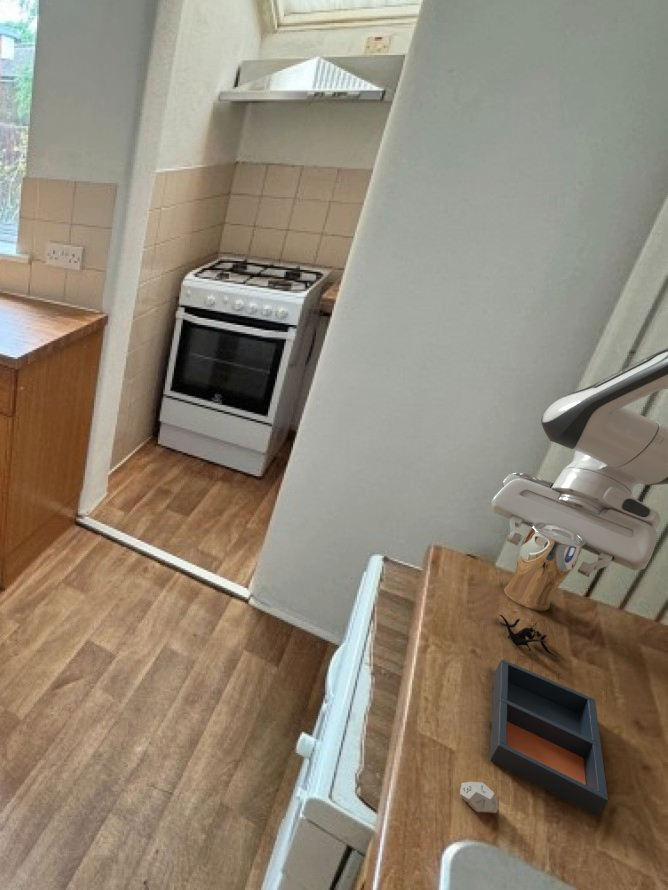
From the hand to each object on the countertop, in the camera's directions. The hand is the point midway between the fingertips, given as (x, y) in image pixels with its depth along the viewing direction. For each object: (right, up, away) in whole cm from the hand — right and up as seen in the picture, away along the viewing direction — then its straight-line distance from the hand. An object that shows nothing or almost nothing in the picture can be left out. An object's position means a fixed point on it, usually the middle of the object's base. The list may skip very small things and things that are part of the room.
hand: (546, 557), depth 107 cm
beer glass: (-1, -9, +3) cm, 10 cm away
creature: (-10, -13, -6) cm, 17 cm away
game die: (-41, -22, -30) cm, 56 cm away
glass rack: (-24, -18, -22) cm, 38 cm away
